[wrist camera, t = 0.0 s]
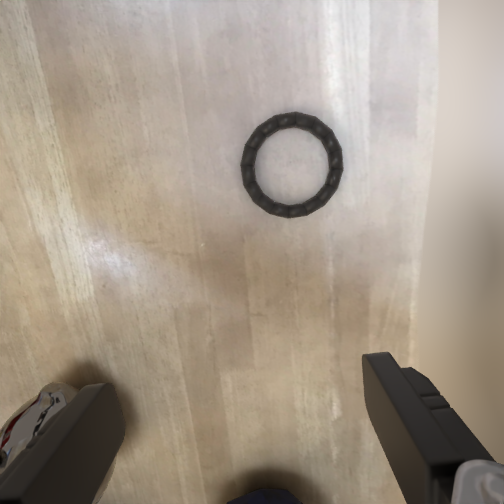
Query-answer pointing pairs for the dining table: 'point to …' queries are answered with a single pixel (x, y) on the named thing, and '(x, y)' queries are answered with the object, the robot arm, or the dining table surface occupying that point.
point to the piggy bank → (39, 425)
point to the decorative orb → (267, 497)
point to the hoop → (269, 128)
